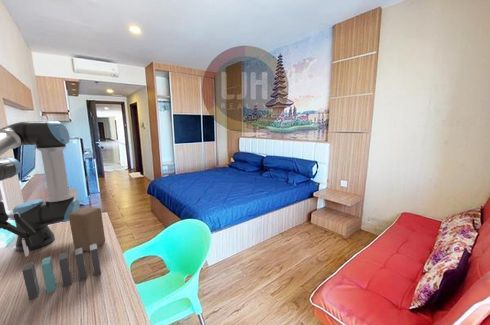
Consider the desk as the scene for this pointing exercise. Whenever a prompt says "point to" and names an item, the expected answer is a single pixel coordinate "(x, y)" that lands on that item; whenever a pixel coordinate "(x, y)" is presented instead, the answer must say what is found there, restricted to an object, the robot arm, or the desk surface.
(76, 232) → the block
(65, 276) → the domino
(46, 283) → the domino
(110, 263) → the desk surface
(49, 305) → the desk surface
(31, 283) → the domino
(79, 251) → the domino
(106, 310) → the desk surface
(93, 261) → the domino
